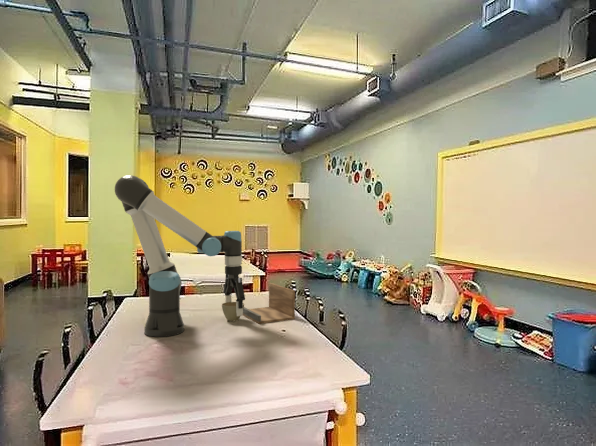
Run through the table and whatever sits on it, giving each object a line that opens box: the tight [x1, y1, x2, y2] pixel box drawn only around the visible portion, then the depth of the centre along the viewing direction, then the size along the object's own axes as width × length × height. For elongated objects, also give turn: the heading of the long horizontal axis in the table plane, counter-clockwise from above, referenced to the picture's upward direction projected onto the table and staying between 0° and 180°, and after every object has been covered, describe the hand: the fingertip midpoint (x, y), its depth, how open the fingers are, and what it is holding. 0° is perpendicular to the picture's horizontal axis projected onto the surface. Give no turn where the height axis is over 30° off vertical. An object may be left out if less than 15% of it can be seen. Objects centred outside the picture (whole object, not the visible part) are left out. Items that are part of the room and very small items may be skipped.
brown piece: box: [243, 282, 296, 325], centre depth 193 cm, size 18×24×13 cm
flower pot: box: [221, 301, 245, 322], centre depth 186 cm, size 10×10×7 cm
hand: (233, 312), depth 186 cm, fingers open, 13 cm apart
